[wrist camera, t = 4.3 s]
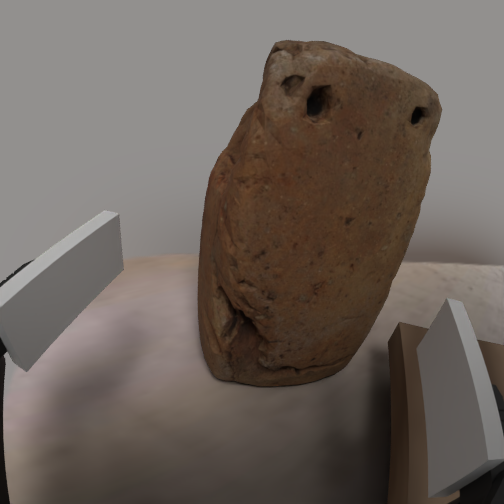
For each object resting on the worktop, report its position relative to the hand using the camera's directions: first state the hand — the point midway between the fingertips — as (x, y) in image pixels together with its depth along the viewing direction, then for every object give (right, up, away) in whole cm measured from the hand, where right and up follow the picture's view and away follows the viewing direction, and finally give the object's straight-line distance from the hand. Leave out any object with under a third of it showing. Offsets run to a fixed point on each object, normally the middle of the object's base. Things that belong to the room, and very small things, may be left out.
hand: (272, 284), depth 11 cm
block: (+1, -6, +11) cm, 13 cm away
